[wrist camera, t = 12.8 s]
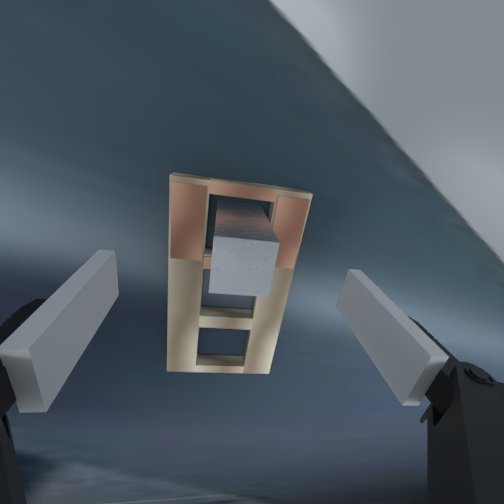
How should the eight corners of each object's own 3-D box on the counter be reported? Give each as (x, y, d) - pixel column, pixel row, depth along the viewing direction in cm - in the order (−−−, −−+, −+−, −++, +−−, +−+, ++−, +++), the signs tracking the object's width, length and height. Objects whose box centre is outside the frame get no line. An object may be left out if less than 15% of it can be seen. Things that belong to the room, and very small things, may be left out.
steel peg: (214, 240, 25) (208, 292, 17) (218, 199, 23) (213, 235, 15) (254, 244, 25) (268, 297, 17) (261, 205, 24) (279, 242, 15)
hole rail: (169, 360, 31) (166, 372, 29) (173, 172, 22) (169, 175, 20) (266, 363, 32) (269, 375, 31) (307, 190, 23) (313, 194, 22)
